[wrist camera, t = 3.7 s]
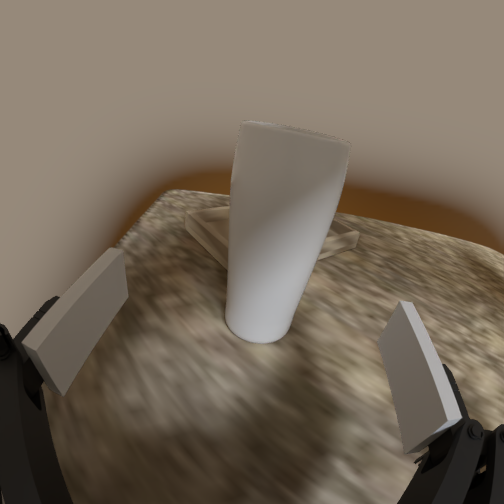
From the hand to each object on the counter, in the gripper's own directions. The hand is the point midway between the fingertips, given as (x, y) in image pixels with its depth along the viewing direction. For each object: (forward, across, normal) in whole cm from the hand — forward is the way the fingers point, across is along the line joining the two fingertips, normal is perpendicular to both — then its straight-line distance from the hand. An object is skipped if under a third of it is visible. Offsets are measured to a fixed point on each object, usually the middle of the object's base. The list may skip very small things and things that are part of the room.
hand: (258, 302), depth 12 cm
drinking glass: (+7, 0, -8) cm, 11 cm away
